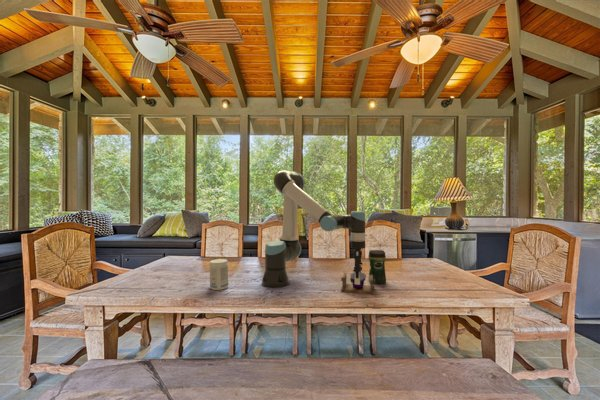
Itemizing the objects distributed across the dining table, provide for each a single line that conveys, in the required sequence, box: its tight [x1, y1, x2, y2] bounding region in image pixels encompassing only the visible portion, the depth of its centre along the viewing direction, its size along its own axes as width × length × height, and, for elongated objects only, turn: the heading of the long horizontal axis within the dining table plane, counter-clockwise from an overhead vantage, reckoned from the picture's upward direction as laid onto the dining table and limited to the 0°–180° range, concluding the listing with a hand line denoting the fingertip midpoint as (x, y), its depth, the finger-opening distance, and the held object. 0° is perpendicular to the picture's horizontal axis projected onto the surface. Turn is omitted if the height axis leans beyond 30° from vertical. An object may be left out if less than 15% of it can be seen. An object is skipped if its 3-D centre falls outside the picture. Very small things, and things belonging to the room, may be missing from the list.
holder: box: [340, 272, 375, 295], centre depth 147 cm, size 17×10×7 cm, turn 75°
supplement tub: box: [209, 258, 229, 291], centre depth 150 cm, size 10×10×15 cm
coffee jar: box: [368, 249, 387, 285], centre depth 160 cm, size 10×8×19 cm
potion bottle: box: [349, 265, 367, 289], centre depth 147 cm, size 9×9×12 cm
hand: (357, 280), depth 147 cm, fingers open, 13 cm apart
